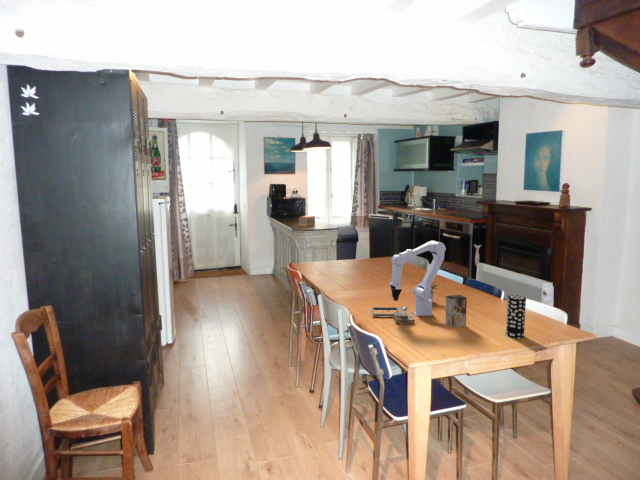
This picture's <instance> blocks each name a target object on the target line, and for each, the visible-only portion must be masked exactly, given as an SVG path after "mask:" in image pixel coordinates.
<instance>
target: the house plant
mask: <svg viewBox="0 0 640 480" xmlns="http://www.w3.org/2000/svg"><path fill="white" fill-rule="evenodd" d="M422 281H423V279H421V282H422ZM438 286H439V284H436V281H433V282H432V284H431V289H432V291H431V294H430V298H429V299H431V300H432V303H433V302H434V296H435V292H434V291H433V290H438V289H439V290H440V288H438Z"/></svg>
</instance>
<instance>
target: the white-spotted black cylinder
mask: <svg viewBox="0 0 640 480" xmlns="http://www.w3.org/2000/svg"><path fill="white" fill-rule="evenodd" d="M526 302H527V297H525V296H523V295H517V294H511V295H508V296H507V311H506V313H507V314H506V332H505V335H506V336H507V337H508V338H511V339H523V338H525V323H526V322H525V321H526V306H527V303H526Z"/></svg>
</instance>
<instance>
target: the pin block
mask: <svg viewBox="0 0 640 480" xmlns="http://www.w3.org/2000/svg"><path fill="white" fill-rule="evenodd" d="M401 317H402V313H401V314H394V317H393V319H394V318H395V319H394V322H395V321H396V322H395V324H396V323H402V324H401V325H415V323H416V322H415V318H414V316H413V314H410V313H409V314H408V313H407V318H401Z"/></svg>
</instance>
